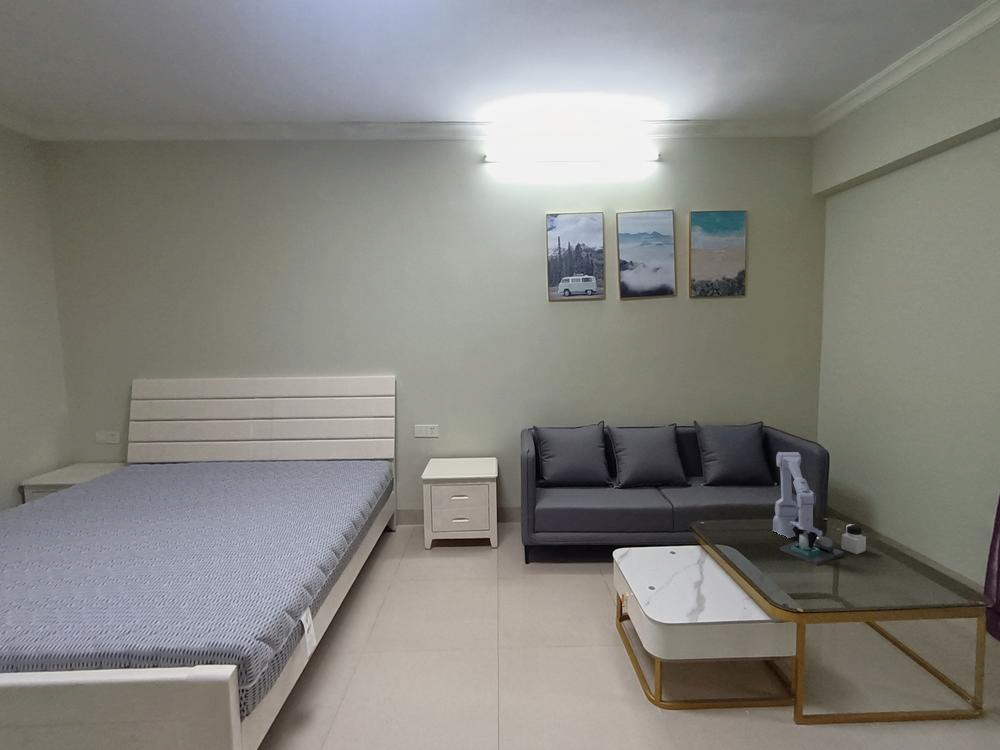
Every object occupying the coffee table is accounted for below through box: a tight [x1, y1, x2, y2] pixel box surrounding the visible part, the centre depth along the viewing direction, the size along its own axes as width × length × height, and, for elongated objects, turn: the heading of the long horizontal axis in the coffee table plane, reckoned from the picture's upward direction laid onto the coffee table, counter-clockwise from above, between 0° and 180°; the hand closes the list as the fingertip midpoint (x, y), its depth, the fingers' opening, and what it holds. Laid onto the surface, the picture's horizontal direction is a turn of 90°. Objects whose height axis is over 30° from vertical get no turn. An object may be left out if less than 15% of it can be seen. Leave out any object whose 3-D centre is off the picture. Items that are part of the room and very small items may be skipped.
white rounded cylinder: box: [799, 533, 811, 551], centre depth 235 cm, size 5×5×6 cm
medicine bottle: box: [841, 523, 867, 555], centre depth 238 cm, size 7×7×12 cm
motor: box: [779, 530, 845, 566], centre depth 238 cm, size 18×20×7 cm
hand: (805, 545), depth 236 cm, fingers closed on white rounded cylinder, 5 cm apart
